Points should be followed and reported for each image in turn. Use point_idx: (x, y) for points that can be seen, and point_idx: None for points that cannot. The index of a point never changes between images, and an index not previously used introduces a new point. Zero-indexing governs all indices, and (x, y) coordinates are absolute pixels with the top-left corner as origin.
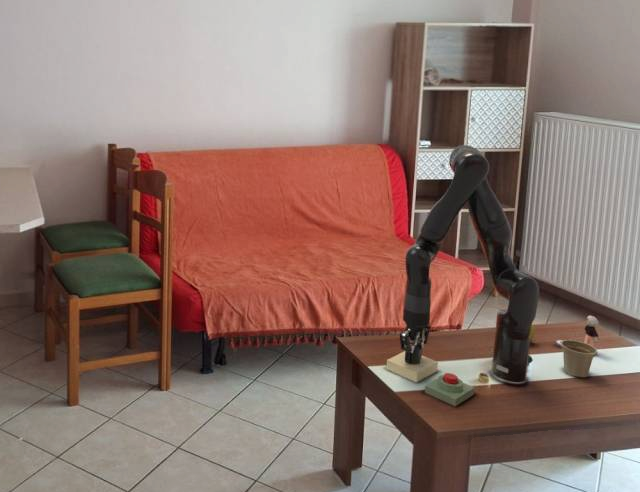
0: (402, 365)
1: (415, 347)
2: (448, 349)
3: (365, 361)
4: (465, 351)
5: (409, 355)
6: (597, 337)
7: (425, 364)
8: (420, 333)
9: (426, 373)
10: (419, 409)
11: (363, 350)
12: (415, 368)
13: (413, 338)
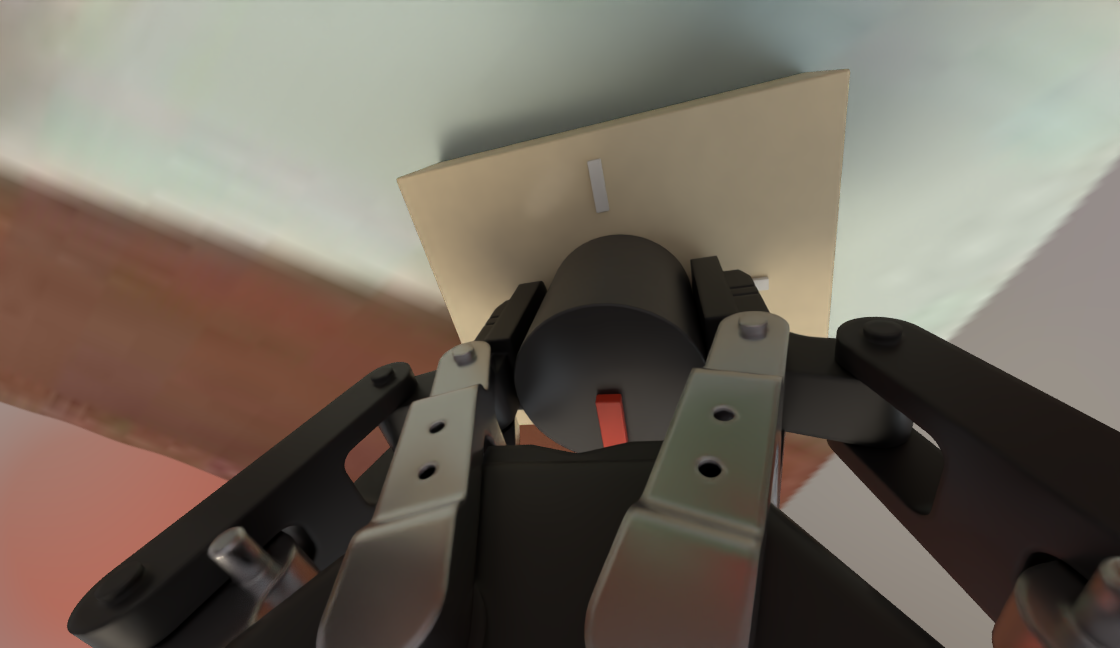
0: (803, 283)
1: (594, 372)
2: (190, 338)
3: (809, 475)
4: (94, 279)
5: (767, 309)
6: None
7: (556, 195)
8: (473, 554)
9: (613, 121)
10: None
11: None
12: (743, 174)
13: (782, 514)
